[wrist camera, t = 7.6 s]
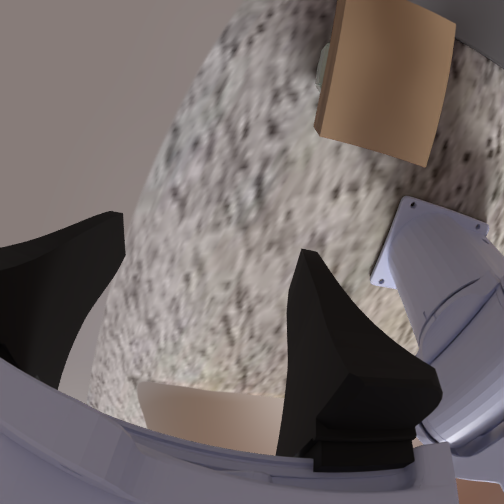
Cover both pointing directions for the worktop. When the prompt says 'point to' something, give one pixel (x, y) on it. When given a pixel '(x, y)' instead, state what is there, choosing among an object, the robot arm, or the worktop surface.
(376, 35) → the cardboard brown block
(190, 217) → the worktop surface
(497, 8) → the mat
